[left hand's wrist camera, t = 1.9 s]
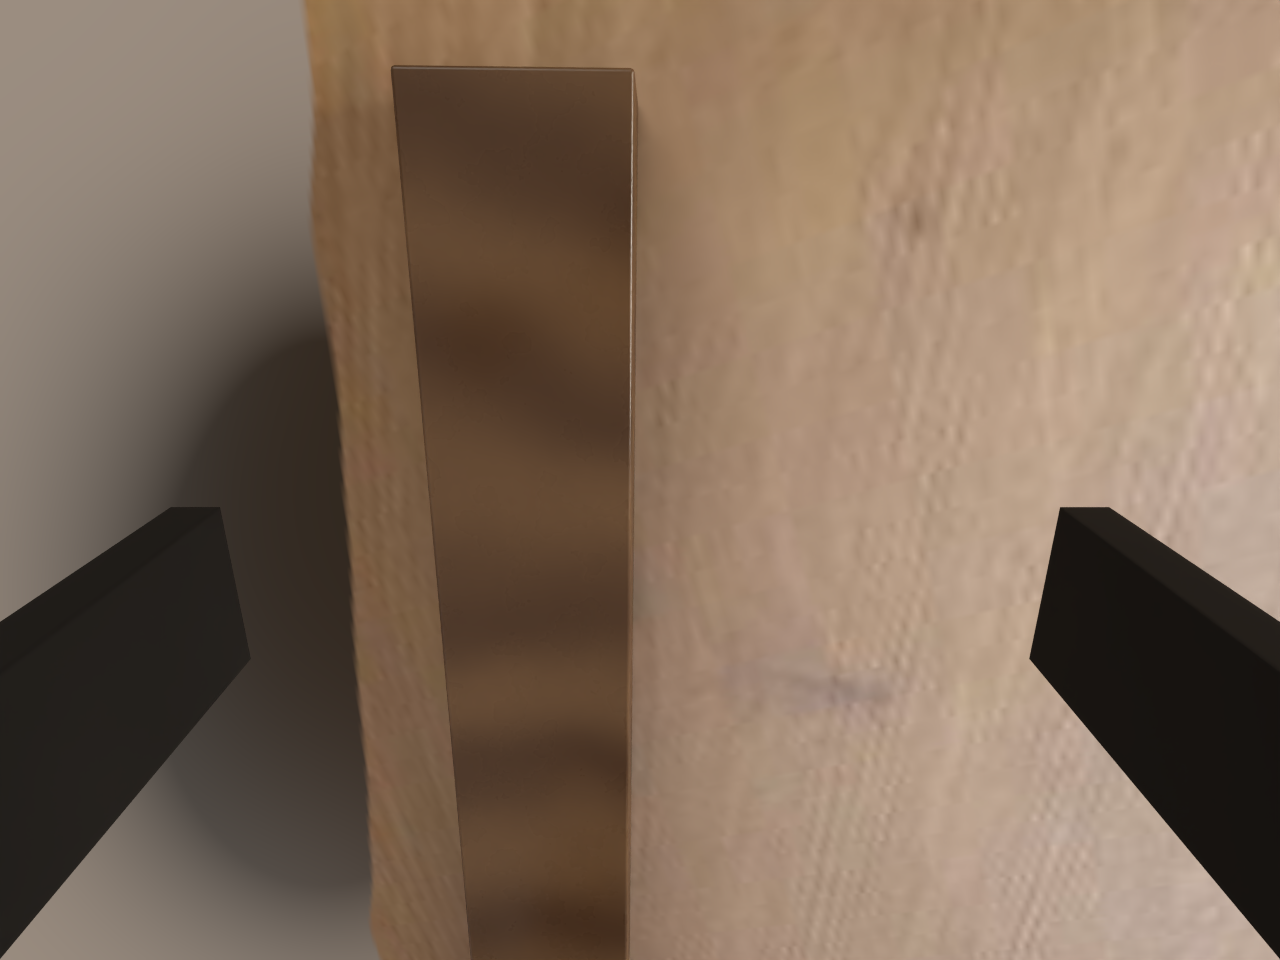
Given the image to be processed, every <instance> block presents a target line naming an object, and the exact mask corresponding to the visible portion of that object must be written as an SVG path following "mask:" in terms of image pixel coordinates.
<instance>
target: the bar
mask: <svg viewBox="0 0 1280 960" xmlns="http://www.w3.org/2000/svg"><path fill="white" fill-rule="evenodd" d="M391 77H392V88H393V99H394V110H395V121H396V132H397V143H398V154H399V165H400V177H401V188H402V199H403V210H404V221H405V232H406V243H407V254H408V265H409V277H410V288H411V299H412V310H413V321H414V332H415V343H416V354H417V365H418V376H419V388H420V399H421V410H422V421H423V432H424V443H425V454H426V465H427V476H428V487H429V499H430V510H431V521H432V532H433V543H434V554H435V565H436V576H437V587H438V598H439V610H440V621H441V632H442V643H443V654H444V665H445V676H446V687H447V698H448V710H449V721H450V732H451V743H452V754H453V765H454V776H455V787H456V798H457V809H458V821H459V832H460V843H461V854H462V865H463V876H464V887H465V898H466V909H467V920H468V932H469V943H470V954H471V960H629V952H630V850H631V748H632V646H633V544H634V442H635V339H636V237H637V135H638V101H637V91H636V82H635V73H634V70H633V69H631V68H576V67H493V66H411V65H394V66H392V67H391Z"/></svg>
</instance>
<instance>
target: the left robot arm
mask: <svg viewBox="0 0 1280 960" xmlns="http://www.w3.org/2000/svg"><path fill="white" fill-rule="evenodd" d="M1029 659H1030V660H1031V661H1032V662H1033V664H1034V665H1035V666H1036V667H1037V668H1038V670H1039V671H1040V672H1041V673H1042V674H1043V676H1044V677H1045V678H1046V679H1047V680H1048V682H1049V683H1050V684H1051V685H1052V686H1053V688H1054V689H1055V690H1056V691H1057V692H1058V694H1059V695H1060V696H1061V697H1062V698H1063V700H1064V701H1065V702H1066V703H1067V704H1068V706H1069V707H1070V708H1071V709H1072V710H1073V712H1074V713H1075V714H1076V715H1077V716H1078V718H1079V719H1080V720H1081V721H1082V722H1083V724H1084V725H1085V726H1086V727H1087V728H1088V730H1089V731H1090V732H1091V733H1092V734H1093V736H1094V737H1095V738H1096V739H1097V740H1098V742H1099V743H1100V744H1101V745H1102V746H1103V748H1104V749H1105V750H1106V751H1107V752H1108V754H1109V755H1110V756H1111V757H1112V758H1113V760H1114V761H1115V762H1116V763H1117V764H1118V766H1119V767H1120V768H1121V769H1122V770H1123V771H1124V773H1125V774H1126V775H1127V776H1128V777H1129V779H1130V780H1131V781H1132V782H1133V783H1134V785H1135V786H1136V787H1137V788H1138V789H1139V791H1140V792H1141V793H1142V794H1143V795H1144V797H1145V798H1146V799H1147V800H1148V801H1149V803H1150V804H1151V805H1152V806H1153V807H1154V809H1155V810H1156V811H1157V812H1158V813H1159V815H1160V816H1161V817H1162V818H1163V819H1164V821H1165V822H1166V823H1167V824H1168V825H1169V827H1170V828H1171V829H1172V830H1173V831H1174V833H1175V834H1176V835H1177V836H1178V837H1179V839H1180V840H1181V841H1182V842H1183V843H1184V845H1185V846H1186V847H1187V848H1188V849H1189V851H1190V852H1191V853H1192V854H1193V855H1194V857H1195V858H1196V859H1197V860H1198V861H1199V863H1200V864H1201V865H1202V866H1203V867H1204V869H1205V870H1206V871H1207V872H1208V873H1209V875H1210V876H1211V877H1212V878H1213V879H1214V881H1215V882H1216V883H1217V884H1218V885H1219V887H1220V888H1221V889H1222V890H1223V891H1224V893H1225V894H1226V895H1227V896H1228V897H1229V899H1230V900H1231V901H1232V902H1233V903H1234V904H1235V906H1236V907H1237V908H1238V909H1239V910H1240V912H1241V913H1242V914H1243V915H1244V916H1245V918H1246V919H1247V920H1248V921H1249V922H1250V924H1251V925H1252V926H1253V927H1254V928H1255V930H1256V931H1257V932H1258V933H1259V934H1260V936H1261V937H1262V938H1263V939H1264V940H1265V942H1266V943H1267V944H1268V945H1269V946H1270V948H1271V949H1272V950H1273V951H1274V952H1275V954H1276V955H1277V956H1278V957H1279V958H1280V622H1279V621H1278V620H1276V619H1275V618H1273V617H1272V616H1270V615H1269V614H1267V613H1266V612H1264V611H1263V610H1261V609H1260V608H1258V607H1257V606H1255V605H1254V604H1252V603H1251V602H1249V601H1248V600H1246V599H1245V598H1243V597H1242V596H1240V595H1239V594H1237V593H1236V592H1234V591H1233V590H1232V589H1230V588H1229V587H1227V586H1226V585H1224V584H1223V583H1221V582H1220V581H1218V580H1217V579H1215V578H1214V577H1212V576H1211V575H1209V574H1208V573H1206V572H1205V571H1203V570H1202V569H1200V568H1199V567H1197V566H1196V565H1194V564H1193V563H1191V562H1190V561H1188V560H1187V559H1185V558H1184V557H1182V556H1181V555H1179V554H1178V553H1176V552H1175V551H1173V550H1172V549H1170V548H1169V547H1168V546H1166V545H1165V544H1163V543H1162V542H1160V541H1159V540H1157V539H1156V538H1154V537H1153V536H1151V535H1150V534H1148V533H1147V532H1145V531H1144V530H1142V529H1141V528H1139V527H1138V526H1136V525H1135V524H1133V523H1132V522H1130V521H1129V520H1127V519H1126V518H1124V517H1123V516H1121V515H1120V514H1118V513H1117V512H1115V511H1114V510H1112V509H1111V508H1109V507H1060V511H1059V516H1058V521H1057V525H1056V530H1055V535H1054V540H1053V545H1052V550H1051V555H1050V560H1049V565H1048V570H1047V575H1046V580H1045V584H1044V589H1043V594H1042V599H1041V604H1040V609H1039V614H1038V619H1037V624H1036V629H1035V634H1034V639H1033V643H1032V648H1031V653H1030V658H1029ZM249 660H250V653H249V649H248V643H247V639H246V634H245V629H244V624H243V619H242V614H241V609H240V604H239V599H238V594H237V590H236V584H235V580H234V575H233V570H232V565H231V560H230V555H229V550H228V545H227V540H226V535H225V531H224V525H223V521H222V516H221V511H220V507H171V508H169V509H168V510H166V511H165V512H163V513H162V514H160V515H159V516H157V517H156V518H154V519H153V520H151V521H150V522H148V523H147V524H145V525H144V526H142V527H141V528H139V529H138V530H136V531H135V532H133V533H132V534H130V535H129V536H127V537H126V538H124V539H123V540H121V541H120V542H119V543H117V544H115V545H114V546H112V547H111V548H110V549H108V550H107V551H105V552H104V553H102V554H101V555H99V556H98V557H96V558H95V559H93V560H92V561H90V562H89V563H87V564H86V565H84V566H83V567H81V568H80V569H78V570H77V571H75V572H74V573H72V574H71V575H69V576H68V577H66V578H65V579H63V580H62V581H60V582H59V583H57V584H56V585H54V586H53V587H51V588H50V589H49V590H47V591H46V592H44V593H43V594H41V595H40V596H38V597H37V598H35V599H34V600H32V601H31V602H29V603H28V604H26V605H25V606H23V607H22V608H20V609H19V610H17V611H16V612H14V613H13V614H11V615H10V616H8V617H7V618H5V619H4V620H2V621H1V622H0V958H1V957H2V956H3V955H4V954H5V952H6V951H7V950H8V949H9V948H10V946H11V945H12V944H13V943H14V942H15V940H16V939H17V938H18V937H19V936H20V934H21V933H22V932H23V931H24V930H25V928H26V927H27V926H28V925H29V924H30V922H31V921H32V920H33V919H34V918H35V916H36V915H37V914H38V913H39V912H40V910H41V909H42V908H43V907H44V906H45V904H46V903H47V902H48V901H49V900H50V898H51V897H52V896H53V895H54V894H55V893H56V891H57V890H58V889H59V888H60V887H61V885H62V884H63V883H64V882H65V881H66V879H67V878H68V877H69V876H70V875H71V873H72V872H73V871H74V870H75V869H76V867H77V866H78V865H79V864H80V863H81V861H82V860H83V859H84V858H85V856H86V855H87V854H88V853H89V852H90V851H91V849H92V848H93V847H94V846H95V845H96V843H97V842H98V841H99V840H100V839H101V837H102V836H103V835H104V834H105V833H106V831H107V830H108V829H109V828H110V827H111V825H112V824H113V823H114V822H115V821H116V819H117V818H118V817H119V816H120V815H121V813H122V812H123V811H124V810H125V809H126V807H127V806H128V805H129V804H130V803H131V801H132V800H133V799H134V798H135V797H136V795H137V794H138V793H139V792H140V791H141V789H142V788H143V787H144V786H145V785H146V783H147V782H148V781H149V780H150V779H151V777H152V776H153V775H154V774H155V773H156V771H157V770H158V769H159V768H160V767H161V765H162V764H163V763H164V762H165V761H166V759H167V758H168V757H169V756H170V755H171V753H172V752H173V751H174V750H175V749H176V748H177V746H178V745H179V744H180V743H181V742H182V740H183V739H184V738H185V737H186V736H187V734H188V733H189V732H190V731H191V730H192V728H193V727H194V726H195V725H196V724H197V722H198V721H199V720H200V719H201V718H202V716H203V715H204V714H205V713H206V711H207V710H208V709H209V708H210V707H211V706H212V704H213V703H214V702H215V701H216V700H217V698H218V697H219V696H220V695H221V694H222V692H223V691H224V690H225V689H226V688H227V686H228V685H229V684H230V683H231V682H232V680H233V679H234V678H235V677H236V676H237V674H238V673H239V672H240V671H241V670H242V668H243V667H244V666H245V665H246V664H247V662H248V661H249Z"/></svg>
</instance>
